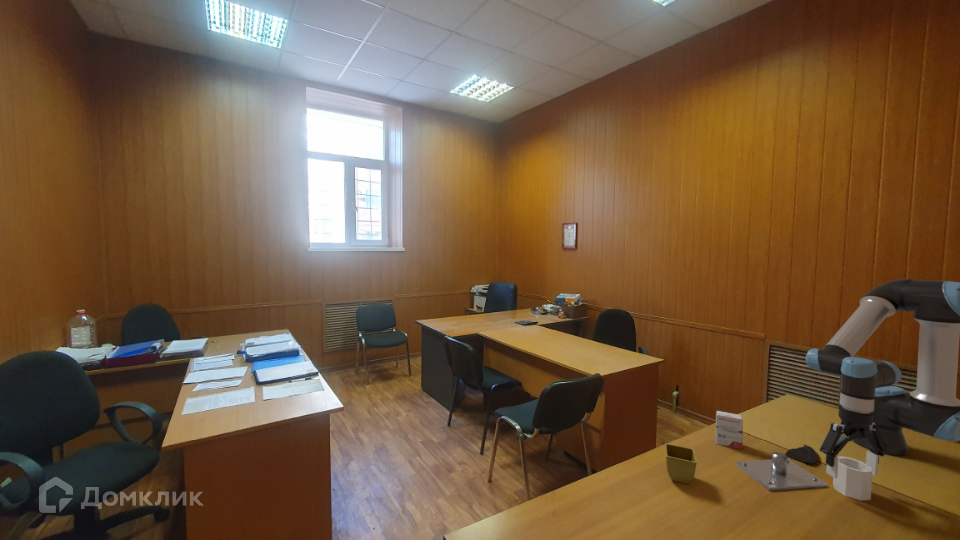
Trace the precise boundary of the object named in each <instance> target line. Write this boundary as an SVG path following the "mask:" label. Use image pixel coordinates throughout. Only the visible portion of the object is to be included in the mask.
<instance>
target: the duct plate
mask: <svg viewBox="0 0 960 540" xmlns="http://www.w3.org/2000/svg"><path fill="white" fill-rule="evenodd" d="M734 464H735V466H736V467H738V468H739V469H740V470H741V471H742V472H744V473H745V474H747V475H748V476H749V477H751V478H752V479H754V481H756V482H757V483H758V484H760V485H761V486H762V487H763V488H765V489H766V490H768V491H770V492H771V491H782V490H783V491H784V490H797V489H808V488H812V489H813V488H821V487H822V488H823V487H828V483H827V482H826V481H824V480H823V479H821V478H819V477H818V476H816V475H814V473H811V472H810V471H809V470H806V468H803V467H802V466H800V465H799V464H796V463H795V462H794V461H792V459H790V458H788V457H787V456H786V455H785V453H782V452H779V451H772V452H771V459H759V460H757V459H756V460H744V461H742V460H741V461H735V462H734Z"/></svg>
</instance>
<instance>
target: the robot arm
mask: <svg viewBox="0 0 960 540" xmlns="http://www.w3.org/2000/svg"><path fill="white" fill-rule="evenodd" d="M896 312H907V313H913V319H914V321H916V322H918V324H919V331H918V332H919V335H918V354H917V355H918V356H917V372H916V373H917V375H916V389H914V390H913V391H910V392H909V394H906V392H907V391H906V390H905V389H904V388H902V387H899V386H895V385H896V384H898V383H899V382H900V381H901V380H902V377H903V376H902V375H903V374H902V372H901V369H900V368H899V367H898V366H897V365H895V364H894V363H893V362H889V361H886V360H874V361H873V360H871V359H868V358H863V357H862V358H861V357H855V355H856V354H857V352H859V350H860V349H861V348H862V347H863V346H864V344H865V343H866V342H867V341H868V339H869V338H870V337H871V336H872V335H873V334H874V333H875V331H876V330H877V329H878V327H880V325H882V323H883V322H884V320H885V319H886V318H889V317H892V316H894V315H895V314H896ZM959 348H960V282H958V281H950V280H933V279H932V280H930V279H929V280H928V279H927V280H926V279H912V278H900V279H894V280H890V281H887V282H884V283H882V284H880V285H877V286H876V287H874V288H873V289H871V290H869V291H868V292H866V293H865V295H863V296H862V298H861V299H859V306H858V307H857V308H856V309H855V311H854V312H853V313H852V314H851V316H850V317H849V318H848V319H847V320H846V322H845V323H843V325H842V326H841V327H840V328H839V329H838V330H837V331H836V333H835V334H834V335H833V336H832V337H831V339H830V340H829V341H828V342H827V343H826V345H824V346H823V348H822V349H821V348H815V347H814V348H811V349H809V350H808V351H807V353H806V354H805V363H806V365H807V367H808V368H810V369H812V370H814V371H815V370H816V371H819V372H821V373H825V374H830V375H834V376H837V377H840V389H839V392H840V393H839V405H838V415H837V416H838V417H839V419H840V424H839V423H835V422H831V423H830V428H829V431H828V432H827V435H826V436H825V438H824V440H823V442H822V443H821V445H820V448H819V451H820V452H821V453H823V454H825V455H826V456H825V464H826V468H825V469H826V470H825V473H826V474H827V475H829V476H830V477H832V478H833V477H834V478H837V475H838V460H839V458H838V457H839V456H838V455H839V454H840V452H841V451H842V450H843V448H844V447H845V446H846V445H847V444H848V443H849V442H854V443H855V444H857V445H859V446H861V447H862V448H866V449H867V451H866V455H865V464H867V465H869V466H871V469H872V476H874V477H878V469H879V463H880V457H884V456H885V454H886V455H892V456H905V455H908V454H909V445H908V443H907V439H906V437H905V435H904V432H903V428H905V429H909V430H912V431H915V432H917V433H921V434H924V435H926V436H930V437H932V438H934V439H939V440H943V441H946V442H949V443H950V442H951V443H956V442H959V441H960V399H959V398H957V386H958V384H957V383H958V382H957V380H958V368H959V367H958V365H959V351H960V349H959Z"/></svg>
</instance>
